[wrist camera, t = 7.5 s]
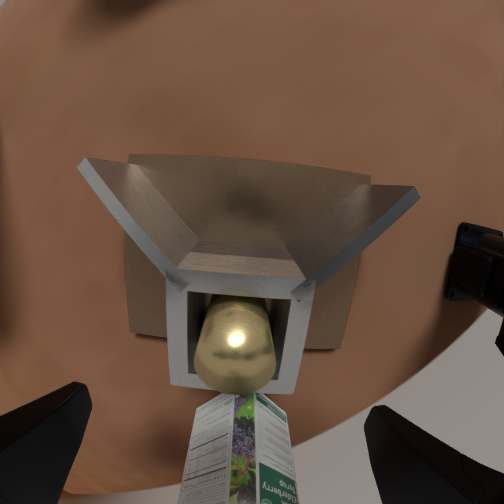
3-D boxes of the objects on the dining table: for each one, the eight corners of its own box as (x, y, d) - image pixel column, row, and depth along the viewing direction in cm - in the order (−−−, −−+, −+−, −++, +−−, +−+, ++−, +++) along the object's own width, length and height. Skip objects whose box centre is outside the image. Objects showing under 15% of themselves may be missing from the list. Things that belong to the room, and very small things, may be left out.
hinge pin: (258, 313, 18) (266, 398, 10) (212, 306, 18) (191, 388, 10) (267, 269, 17) (284, 337, 9) (218, 261, 17) (197, 324, 9)
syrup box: (288, 411, 21) (314, 562, 7) (237, 438, 22) (235, 574, 8) (245, 376, 20) (246, 555, 6) (193, 407, 21) (164, 558, 7)
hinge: (364, 176, 17) (425, 174, 10) (336, 341, 20) (368, 402, 13) (134, 155, 16) (76, 143, 10) (134, 325, 19) (94, 381, 12)
